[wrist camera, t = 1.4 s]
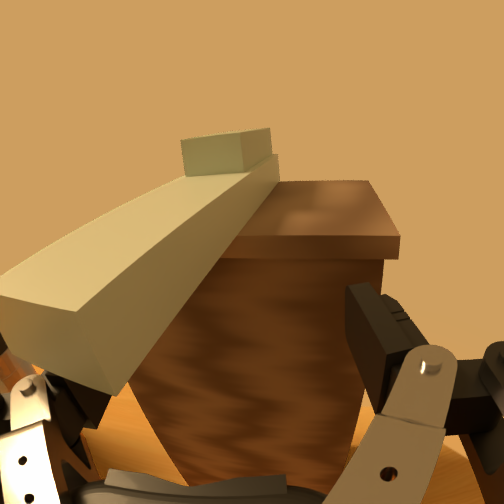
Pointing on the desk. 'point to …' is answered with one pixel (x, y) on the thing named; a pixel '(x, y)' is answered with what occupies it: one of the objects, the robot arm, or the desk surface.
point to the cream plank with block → (134, 264)
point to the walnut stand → (271, 342)
